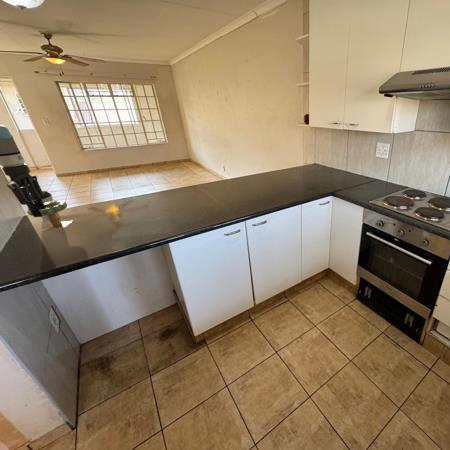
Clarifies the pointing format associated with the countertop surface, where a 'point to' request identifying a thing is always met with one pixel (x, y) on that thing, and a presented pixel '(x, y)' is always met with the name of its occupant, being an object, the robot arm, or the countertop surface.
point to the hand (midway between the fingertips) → (41, 214)
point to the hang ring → (51, 208)
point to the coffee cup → (46, 199)
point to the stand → (54, 221)
